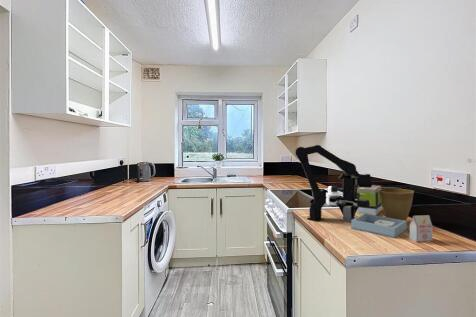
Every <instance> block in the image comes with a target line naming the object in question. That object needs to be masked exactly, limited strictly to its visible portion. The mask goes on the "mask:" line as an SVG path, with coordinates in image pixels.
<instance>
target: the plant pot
mask: <svg viewBox="0 0 476 317" xmlns="http://www.w3.org/2000/svg"><path fill="white" fill-rule="evenodd" d="M379 194H380V200H381V204H382V211H383V213H384V216H385V217H387V218H393V219H398V220H404V221H408V220H407V219H408V217H409V215H410V212H411V208H412V204H413V200H414V199H413V198H414V194H415V191H414V190H411V189H404V188H403V189H402V188H381V189H380V190H379Z"/></svg>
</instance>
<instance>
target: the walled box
mask: <svg viewBox="0 0 476 317" xmlns="http://www.w3.org/2000/svg"><path fill="white" fill-rule="evenodd" d="M378 220H385V221H390V222H396V226H394V227H388V226H382V225H377V224H374V222H376V221H378ZM350 223H351V230H356V231H360V232H364V233H370V234H374V235H378V236H383V237H388V238H392V239H395V238H397V237H398V236H400V235H402V234H403V233H404V232H406V231H407V229H408V225H407V224H408V220H406V221H404V220H398V219H393V218H387V217H386V216H385V217H384V216H381V215H369V214H362V215H360V216H358V217H354V219H353V220H351V222H350Z"/></svg>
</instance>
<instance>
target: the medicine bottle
mask: <svg viewBox="0 0 476 317" xmlns="http://www.w3.org/2000/svg"><path fill="white" fill-rule="evenodd" d="M338 189H339V187H338V186H336V185H329V186H328V187H327V192H325V196H326V197H327V198H326V203H325V204H326V205H328V206H338V205H337V204H336V203H337V201H336V202H329V198H330V197H331V196H334V195H336V196H341V195H340V194H339V191H338Z"/></svg>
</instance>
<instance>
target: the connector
mask: <svg viewBox="0 0 476 317" xmlns="http://www.w3.org/2000/svg"><path fill="white" fill-rule="evenodd" d="M351 206H352V205H345V207H343V214H342V221H343V222H347V223H351V220H353V219H355V217H354V218H353V219H352V214H351Z"/></svg>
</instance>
